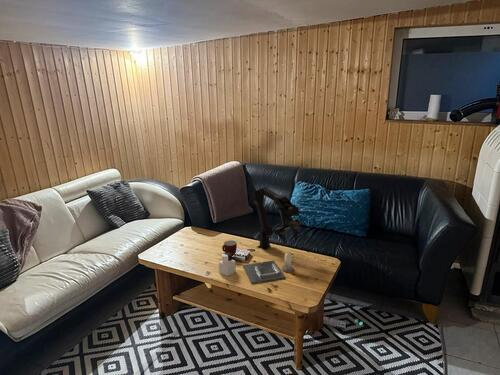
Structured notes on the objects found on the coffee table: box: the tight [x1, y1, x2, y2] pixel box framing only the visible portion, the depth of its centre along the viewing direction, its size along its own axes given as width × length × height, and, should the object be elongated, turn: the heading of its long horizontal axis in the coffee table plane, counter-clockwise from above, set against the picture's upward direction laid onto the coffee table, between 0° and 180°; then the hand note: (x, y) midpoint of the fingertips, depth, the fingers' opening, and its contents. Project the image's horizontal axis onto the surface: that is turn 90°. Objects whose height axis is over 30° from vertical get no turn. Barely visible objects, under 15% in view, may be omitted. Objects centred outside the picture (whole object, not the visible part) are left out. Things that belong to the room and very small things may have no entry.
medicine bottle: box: [218, 252, 237, 277], centre depth 191 cm, size 7×7×12 cm
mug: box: [221, 239, 238, 256], centre depth 209 cm, size 10×8×10 cm
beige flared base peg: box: [281, 252, 295, 274], centre depth 193 cm, size 7×7×10 cm
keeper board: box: [242, 260, 287, 285], centre depth 191 cm, size 20×20×2 cm
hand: (290, 241), depth 200 cm, fingers open, 9 cm apart
